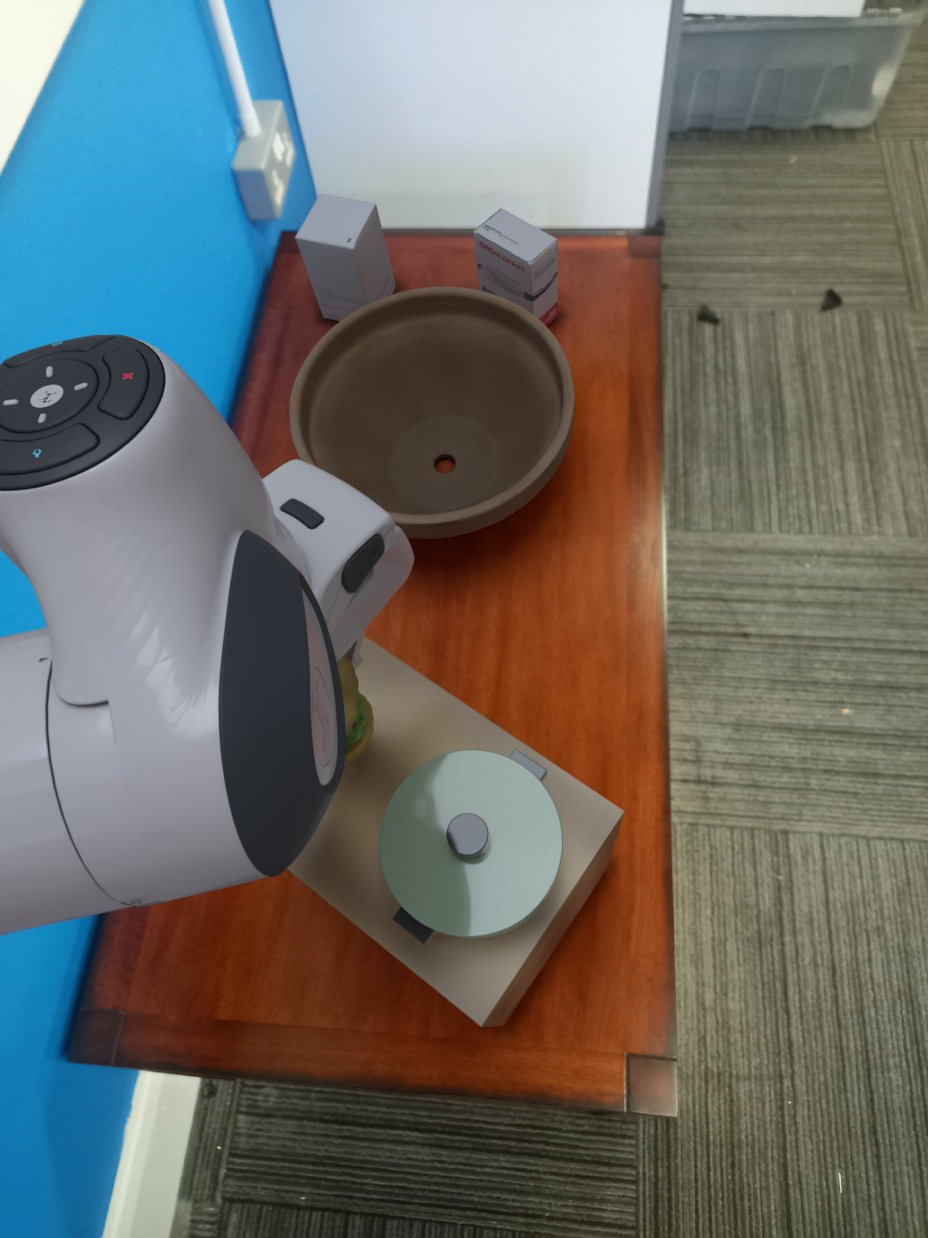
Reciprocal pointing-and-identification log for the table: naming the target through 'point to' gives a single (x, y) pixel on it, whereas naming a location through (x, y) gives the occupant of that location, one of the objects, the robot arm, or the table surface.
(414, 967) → the stand
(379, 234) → the white packaging box
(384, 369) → the flower pot
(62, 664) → the robot arm
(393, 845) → the pot
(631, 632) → the table surface
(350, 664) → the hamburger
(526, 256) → the ink box
